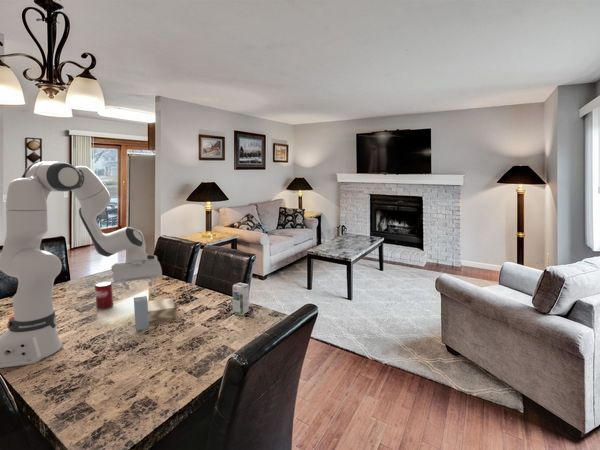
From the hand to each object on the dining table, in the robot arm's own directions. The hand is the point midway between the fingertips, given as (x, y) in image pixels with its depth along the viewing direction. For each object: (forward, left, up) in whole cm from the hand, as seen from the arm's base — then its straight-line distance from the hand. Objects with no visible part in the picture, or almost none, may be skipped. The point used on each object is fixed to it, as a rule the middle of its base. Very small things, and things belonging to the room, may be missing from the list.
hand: (139, 287), depth 145 cm
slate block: (0, -8, -15) cm, 17 cm away
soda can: (-15, +24, -16) cm, 32 cm away
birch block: (+8, +4, -16) cm, 18 cm away
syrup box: (+43, -13, -16) cm, 48 cm away
